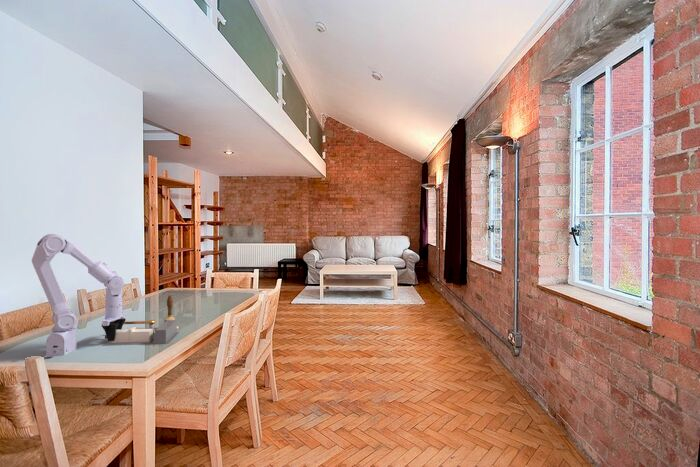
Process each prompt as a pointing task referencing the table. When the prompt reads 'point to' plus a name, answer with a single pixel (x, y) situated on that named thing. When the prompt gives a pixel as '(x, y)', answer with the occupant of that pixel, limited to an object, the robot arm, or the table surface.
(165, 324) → the grey base plate
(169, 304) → the hand bell
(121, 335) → the plug
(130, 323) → the ball-topped lever
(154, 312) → the table surface
